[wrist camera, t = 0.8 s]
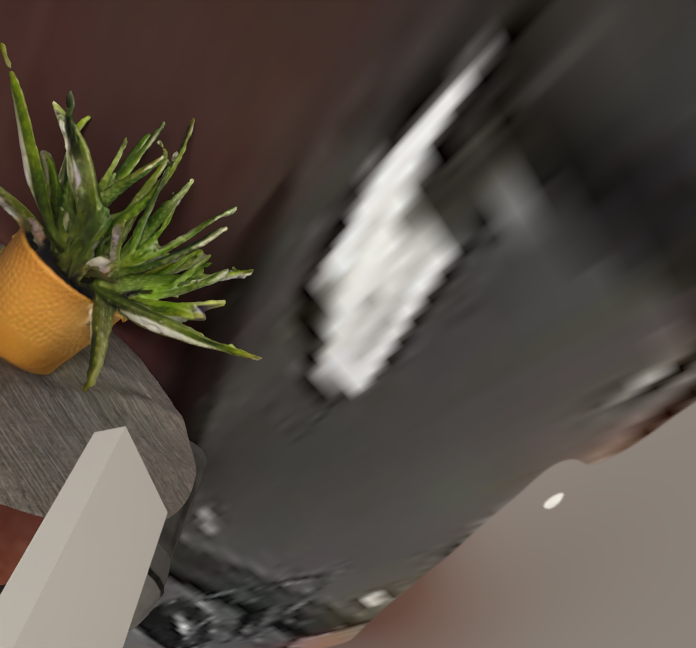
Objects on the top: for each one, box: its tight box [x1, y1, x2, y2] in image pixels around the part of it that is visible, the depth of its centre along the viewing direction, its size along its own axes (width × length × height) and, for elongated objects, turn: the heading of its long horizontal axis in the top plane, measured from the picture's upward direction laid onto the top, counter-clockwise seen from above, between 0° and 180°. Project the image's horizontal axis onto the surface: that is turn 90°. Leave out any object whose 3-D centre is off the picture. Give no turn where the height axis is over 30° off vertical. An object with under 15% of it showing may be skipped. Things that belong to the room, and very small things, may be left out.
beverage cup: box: [128, 441, 207, 631], centre depth 43 cm, size 7×7×20 cm
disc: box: [0, 43, 261, 520], centre depth 31 cm, size 25×18×25 cm
